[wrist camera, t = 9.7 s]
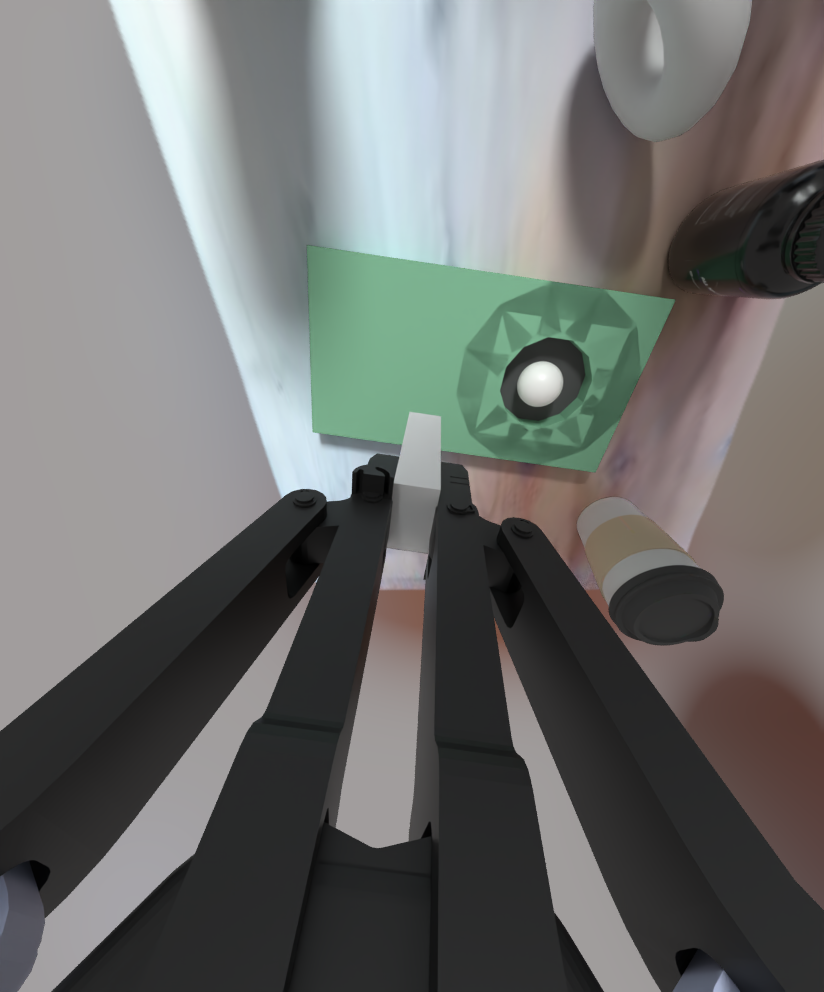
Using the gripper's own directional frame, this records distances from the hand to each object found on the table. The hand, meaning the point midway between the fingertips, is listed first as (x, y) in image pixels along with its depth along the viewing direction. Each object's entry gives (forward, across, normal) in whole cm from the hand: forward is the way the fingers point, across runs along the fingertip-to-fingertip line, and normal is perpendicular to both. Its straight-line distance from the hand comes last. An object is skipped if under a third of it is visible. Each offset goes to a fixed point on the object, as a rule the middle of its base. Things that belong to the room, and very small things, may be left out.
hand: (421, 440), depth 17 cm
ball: (+18, +10, -1) cm, 20 cm away
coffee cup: (+20, +24, -16) cm, 35 cm away
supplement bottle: (+20, +21, +11) cm, 31 cm away
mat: (+20, +4, -1) cm, 20 cm away
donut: (+20, +10, +19) cm, 30 cm away
